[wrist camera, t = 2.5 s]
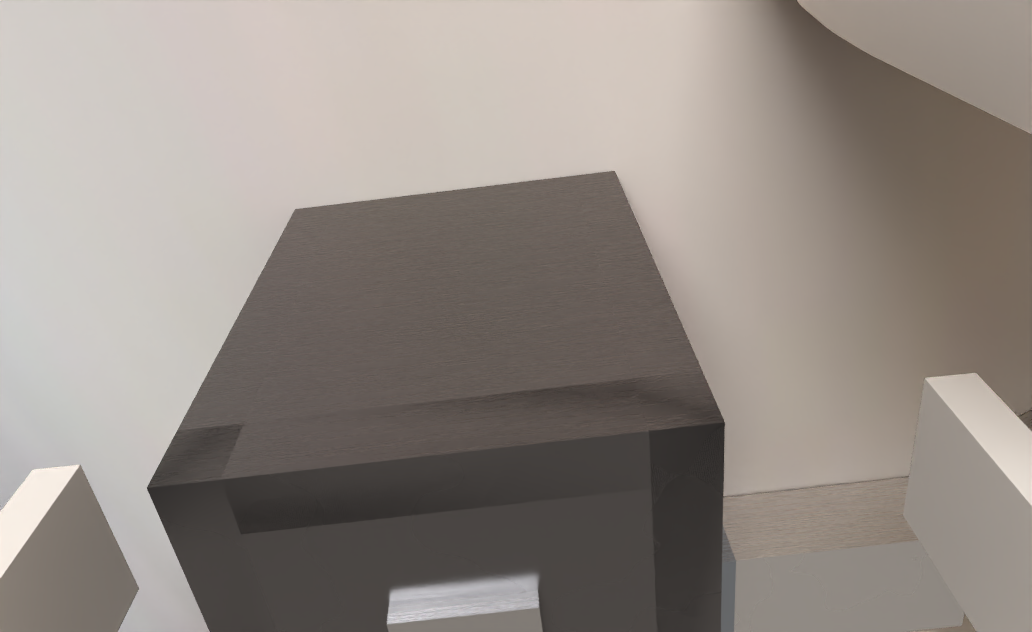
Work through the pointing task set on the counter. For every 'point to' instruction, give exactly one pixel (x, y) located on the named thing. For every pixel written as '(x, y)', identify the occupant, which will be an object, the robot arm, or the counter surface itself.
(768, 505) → the ratchet
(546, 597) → the socket
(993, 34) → the mug
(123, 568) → the robot arm
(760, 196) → the counter surface
